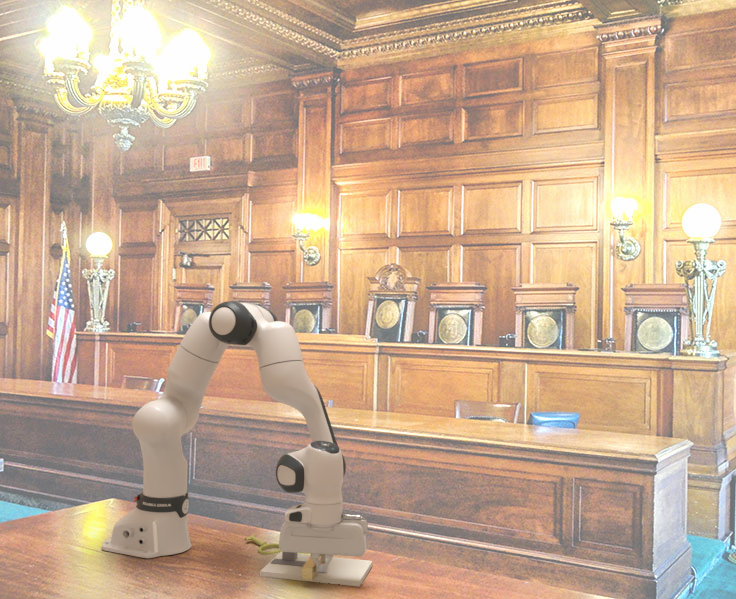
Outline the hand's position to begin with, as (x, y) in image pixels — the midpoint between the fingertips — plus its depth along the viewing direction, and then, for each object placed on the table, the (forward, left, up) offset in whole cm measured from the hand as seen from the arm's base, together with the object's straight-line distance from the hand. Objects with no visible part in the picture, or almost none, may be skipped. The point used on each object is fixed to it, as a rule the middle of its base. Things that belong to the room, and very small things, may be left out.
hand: (322, 572), depth 184 cm
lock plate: (-3, +8, -2) cm, 9 cm away
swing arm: (-3, +3, -1) cm, 4 cm away
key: (-21, +21, -3) cm, 30 cm away
